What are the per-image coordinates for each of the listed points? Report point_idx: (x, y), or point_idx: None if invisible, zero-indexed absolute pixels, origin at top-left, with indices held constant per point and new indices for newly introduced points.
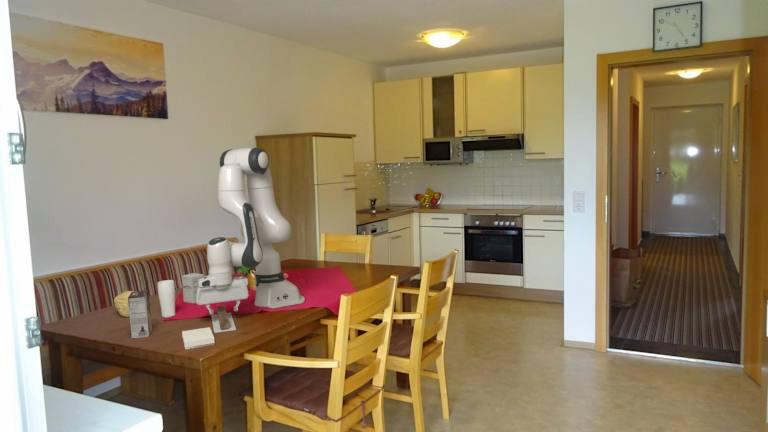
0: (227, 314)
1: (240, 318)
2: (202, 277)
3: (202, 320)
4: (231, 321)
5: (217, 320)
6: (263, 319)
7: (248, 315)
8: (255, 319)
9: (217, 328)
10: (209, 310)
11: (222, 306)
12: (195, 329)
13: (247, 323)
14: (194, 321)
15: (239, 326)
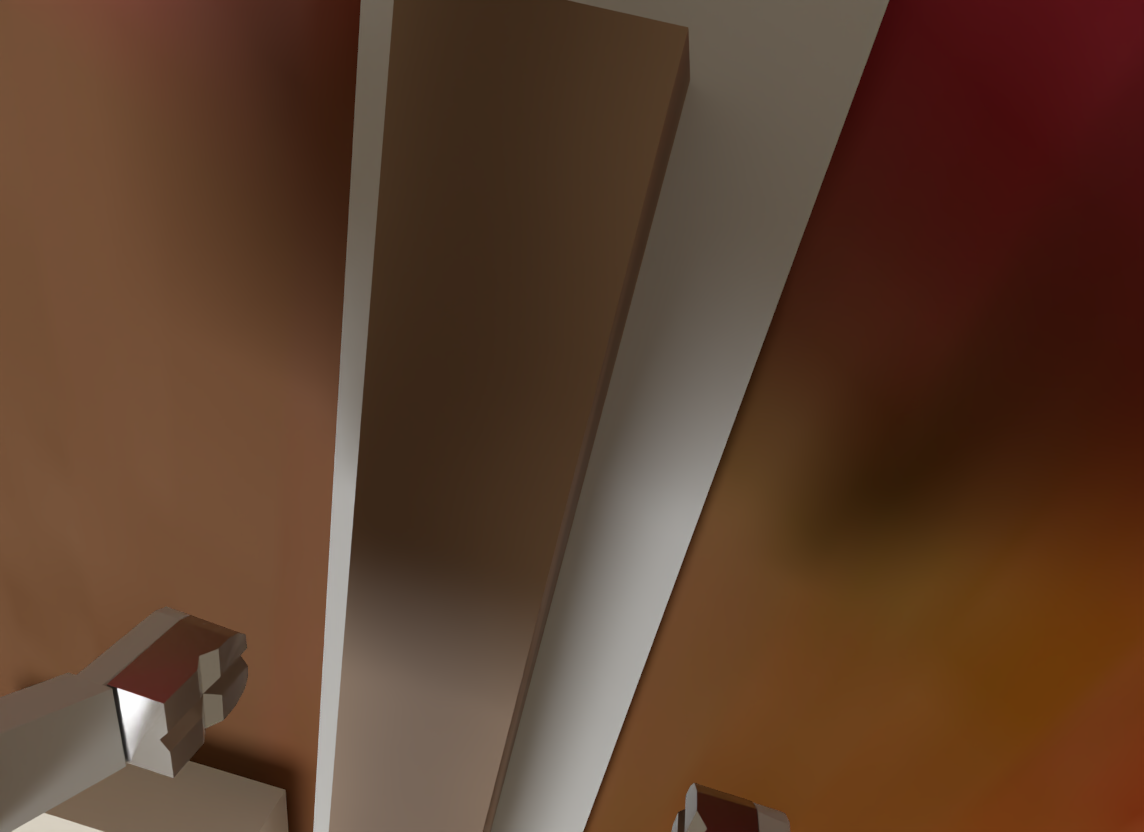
0: (744, 109)
1: (862, 509)
2: None
3: (194, 106)
4: (614, 651)
5: None
6: (1123, 821)
7: (1128, 428)
8: (1026, 737)
9: None
10: (90, 753)
11: (565, 176)
12: (75, 827)
13: (800, 800)
14: (50, 67)
15: (649, 820)
